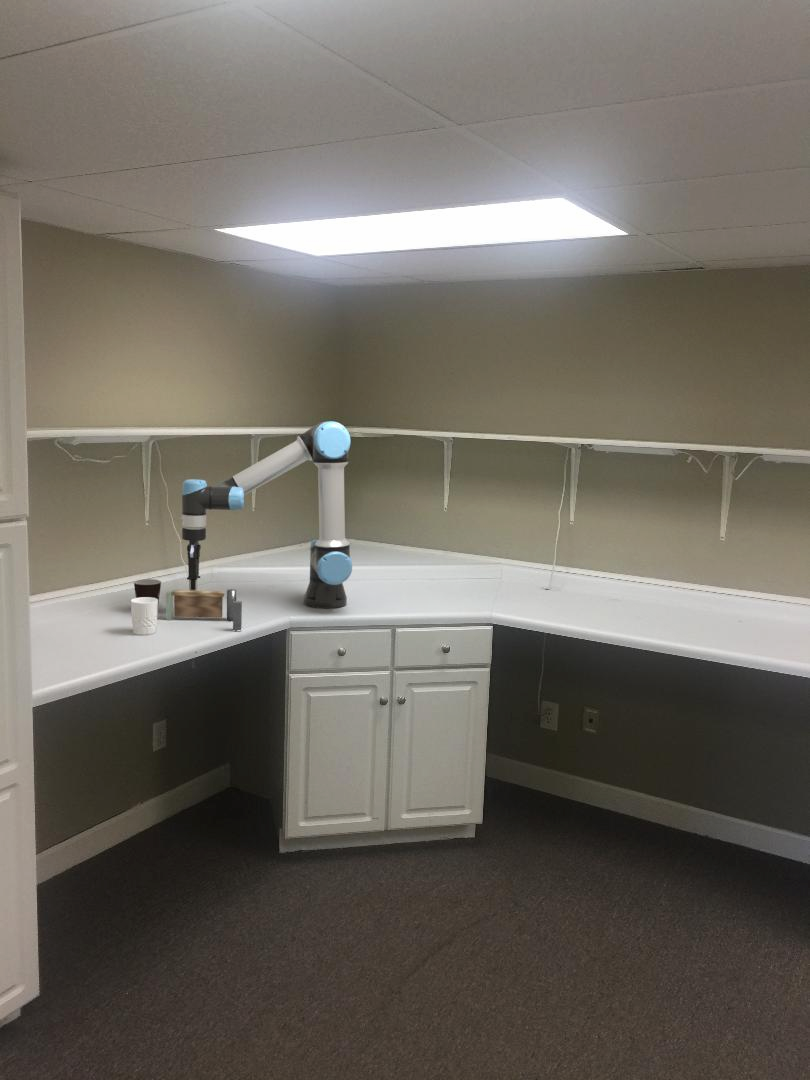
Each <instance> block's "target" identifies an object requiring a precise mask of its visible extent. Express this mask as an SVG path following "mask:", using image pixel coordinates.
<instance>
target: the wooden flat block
mask: <svg viewBox="0 0 810 1080" xmlns="http://www.w3.org/2000/svg"><path fill="white" fill-rule="evenodd" d="M172 591H173V592H172V596H173V618H175V617H176V618H213V619H214V618H217V619H218V618H219V619H222V618H223V603H224V602H223V599H224V598H223V597H225V591H220V590H219V591H217V590H216V591H215V590H214V591H213V590H198V591H189V590H181V589H179V590H178V589H173V590H172Z"/></svg>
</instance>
